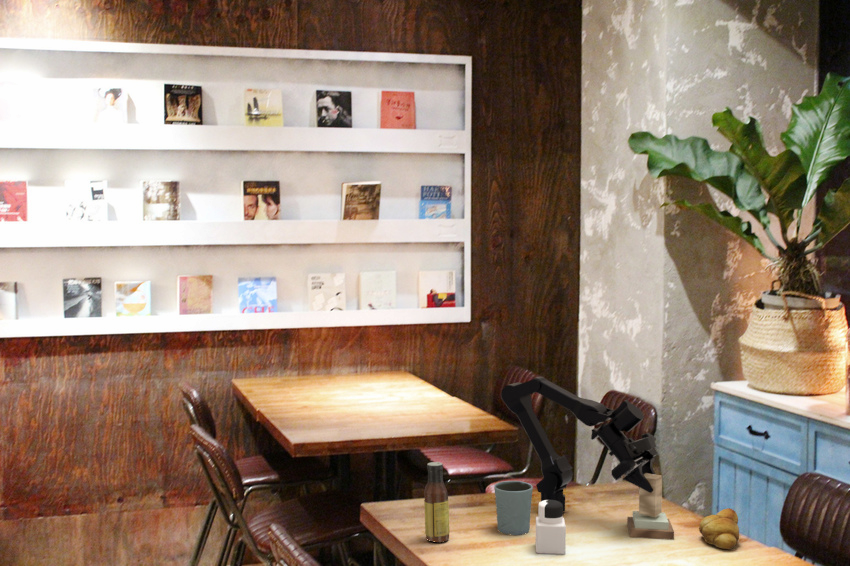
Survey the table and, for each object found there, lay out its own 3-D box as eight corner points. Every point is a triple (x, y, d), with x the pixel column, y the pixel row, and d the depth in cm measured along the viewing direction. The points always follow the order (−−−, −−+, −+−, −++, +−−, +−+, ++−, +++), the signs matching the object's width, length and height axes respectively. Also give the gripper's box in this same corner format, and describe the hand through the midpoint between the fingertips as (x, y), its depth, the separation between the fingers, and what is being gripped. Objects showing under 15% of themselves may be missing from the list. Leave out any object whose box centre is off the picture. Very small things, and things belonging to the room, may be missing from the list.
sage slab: (635, 528, 229) (635, 520, 229) (632, 518, 237) (632, 510, 237) (668, 530, 227) (668, 522, 227) (664, 519, 236) (664, 512, 236)
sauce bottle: (452, 537, 227) (452, 461, 226) (445, 545, 221) (445, 467, 220) (428, 534, 229) (428, 459, 228) (420, 542, 223) (420, 465, 222)
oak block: (638, 513, 232) (639, 476, 231) (645, 509, 235) (646, 472, 235) (655, 517, 229) (655, 479, 229) (661, 512, 233) (662, 475, 232)
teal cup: (537, 527, 236) (537, 483, 235) (525, 538, 226) (525, 492, 226) (501, 522, 240) (501, 478, 239) (488, 533, 231) (488, 488, 230)
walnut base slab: (630, 537, 228) (630, 529, 228) (627, 523, 239) (627, 516, 239) (673, 539, 226) (674, 531, 226) (668, 526, 237) (669, 518, 237)
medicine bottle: (563, 544, 222) (564, 498, 221) (565, 554, 215) (566, 506, 214) (535, 543, 223) (535, 497, 222) (536, 553, 215) (536, 505, 215)
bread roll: (742, 553, 216) (743, 521, 216) (701, 550, 219) (702, 518, 218) (736, 536, 229) (737, 506, 229) (697, 533, 231) (698, 503, 231)
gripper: (623, 430, 226) (664, 479, 220) (650, 418, 241) (689, 464, 235) (594, 455, 231) (633, 504, 225) (623, 443, 246) (660, 488, 240)
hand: (655, 489), depth 231 cm, fingers closed on oak block, 4 cm apart
